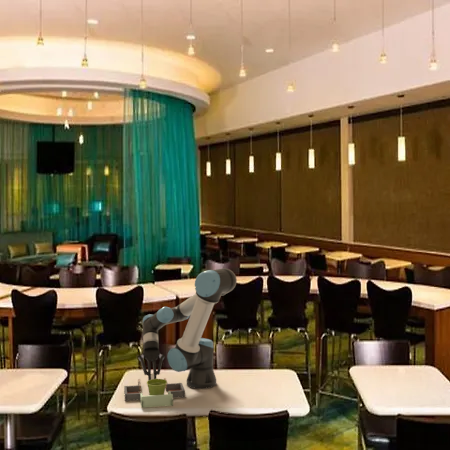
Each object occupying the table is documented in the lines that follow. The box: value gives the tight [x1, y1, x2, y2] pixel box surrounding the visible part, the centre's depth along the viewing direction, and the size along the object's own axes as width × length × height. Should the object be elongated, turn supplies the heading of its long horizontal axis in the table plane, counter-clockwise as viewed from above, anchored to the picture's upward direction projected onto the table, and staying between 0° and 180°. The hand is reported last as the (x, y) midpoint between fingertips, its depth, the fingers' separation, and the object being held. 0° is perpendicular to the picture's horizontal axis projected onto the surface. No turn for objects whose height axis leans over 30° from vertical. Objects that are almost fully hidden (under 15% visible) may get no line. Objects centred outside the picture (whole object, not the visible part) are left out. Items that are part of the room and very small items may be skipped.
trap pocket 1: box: [123, 384, 141, 402], centre depth 266 cm, size 12×8×3 cm, turn 12°
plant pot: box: [146, 378, 168, 396], centre depth 260 cm, size 9×9×9 cm
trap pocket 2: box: [166, 382, 186, 399], centre depth 270 cm, size 12×8×3 cm, turn 12°
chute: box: [137, 377, 169, 393], centre depth 278 cm, size 10×14×3 cm
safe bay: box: [139, 390, 174, 409], centre depth 257 cm, size 11×14×5 cm
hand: (152, 387), depth 265 cm, fingers closed
